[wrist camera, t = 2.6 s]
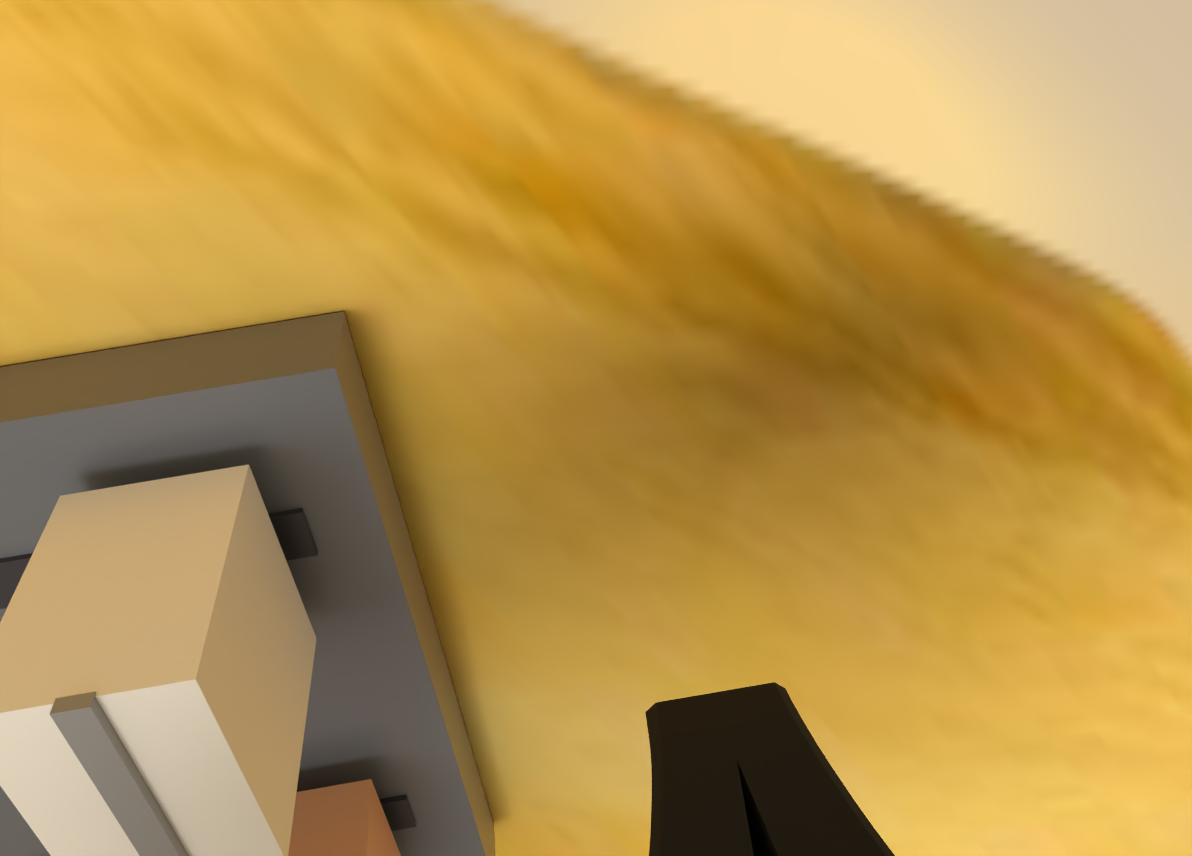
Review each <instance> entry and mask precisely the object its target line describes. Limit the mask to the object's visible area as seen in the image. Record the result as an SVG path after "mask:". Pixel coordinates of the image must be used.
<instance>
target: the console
mask: <svg viewBox="0 0 1192 856" xmlns="http://www.w3.org/2000/svg"><path fill="white" fill-rule="evenodd" d="M248 464H249V466H250V469H251V471H252V474H253V476H254V479H255V481H256V484H257V487H258V489H259V492H260V494H261V497H262V499H263V502H264V505H265V507H266V510H267V512H268V515H269V517H270V520H271V523H272V525H273V528H274V530H275V533H276V535H277V538H278V541H279V543H280V546H281V548H282V551H283V553H284V556H285V559H286V561H287V564H288V566H289V569H290V571H291V574H292V577H293V579H294V582H295V584H296V587H297V589H298V592H299V595H300V597H301V600H302V602H303V605H304V607H305V610H306V613H307V615H308V618H309V620H310V623H311V625H312V628H313V631H314V633H315V636H316V638H317V639H316V647H315V654H314V662H313V670H312V677H311V685H310V693H309V700H308V708H307V716H306V723H305V731H304V738H303V746H302V754H301V761H300V769H299V777H298V784H297V792H300V791H306V790H311V789H317V788H323V787H328V786H334V785H340V784H345V783H351V782H357V781H363V780H368V779H371V780H372V782H373V785H374V788H375V790H376V793H377V795H378V798H379V800H380V803H381V806H382V808H383V811H384V813H385V816H386V818H387V821H388V824H389V826H390V829H391V831H392V834H393V836H394V839H395V842H396V844H397V847H398V849H399V852H400V854H401V856H495V837H494V823H493V820H492V817H491V813H490V810H489V806H488V803H487V799H486V796H485V793H484V789H483V786H482V782H481V779H480V776H479V772H478V769H477V765H476V762H475V758H474V755H473V752H472V748H471V745H470V741H469V738H468V734H467V731H466V728H465V724H464V721H463V717H462V714H461V710H460V707H459V704H458V700H457V697H456V693H455V690H454V686H453V683H452V680H451V676H450V673H449V669H448V666H447V662H446V659H445V656H444V652H443V649H442V645H441V642H440V638H439V635H438V632H437V628H436V625H435V621H434V618H433V615H432V611H431V608H430V604H429V601H428V597H427V594H426V591H425V587H424V584H423V580H422V577H421V573H420V570H419V567H418V563H417V560H416V556H415V553H414V549H413V546H412V543H411V539H410V536H409V532H408V529H407V525H406V522H405V519H404V515H403V512H402V508H401V505H400V501H399V498H398V495H397V491H396V488H395V484H394V481H393V477H392V474H391V471H390V467H389V464H388V460H387V457H386V454H385V450H384V447H383V443H382V440H381V436H380V433H379V430H378V426H377V423H376V419H375V416H374V412H373V409H372V406H371V402H370V399H369V395H368V392H367V388H366V385H365V382H364V378H363V375H362V371H361V368H360V364H359V361H358V358H357V354H356V351H355V347H354V344H353V340H352V337H351V334H350V330H349V327H348V323H347V320H346V317H345V313H344V311H343V312H337V313H331V314H325V315H318V316H312V317H306V318H300V319H294V320H288V321H281V322H275V323H269V324H263V325H257V326H251V327H244V328H238V329H232V330H226V331H220V332H214V333H207V334H201V335H195V336H189V337H183V338H177V339H170V340H164V341H158V342H152V343H146V344H140V345H133V346H127V347H121V348H115V349H109V350H103V351H96V352H90V353H84V354H78V355H72V356H66V357H59V358H53V359H47V360H41V361H35V362H29V363H22V364H16V365H10V366H4V367H0V622H1V620H2V617H3V615H4V613H5V611H6V609H7V607H8V605H9V603H10V601H11V598H12V596H13V594H14V592H15V590H16V588H17V586H18V584H19V582H20V579H21V577H22V575H23V573H24V571H25V569H26V567H27V565H28V562H29V560H30V558H31V556H32V554H33V552H34V550H35V548H36V546H37V543H38V541H39V539H40V537H41V535H42V533H43V531H44V529H45V527H46V524H47V522H48V520H49V518H50V516H51V514H52V512H53V510H54V507H55V505H56V503H57V501H58V499H59V497H60V496H62V495H68V494H74V493H80V492H86V491H92V490H98V489H104V488H110V487H116V486H122V485H128V484H134V483H140V482H146V481H152V480H158V479H164V478H170V477H176V476H182V475H188V474H194V473H200V472H206V471H212V470H218V469H224V468H230V467H236V466H242V465H248ZM0 856H51V855H50V854H49V853H48V851H47V850H46V848H45V847H44V846H43V844H42V843H41V841H40V840H39V839H38V837H37V836H36V835H35V833H34V832H33V830H32V829H31V828H30V826H29V825H28V823H27V822H26V821H25V819H24V818H23V817H22V815H21V814H20V812H19V811H18V810H17V808H16V807H15V805H14V804H13V803H12V801H11V800H10V798H9V797H8V796H7V794H6V793H5V792H4V790H3V789H2V787H1V786H0Z"/></svg>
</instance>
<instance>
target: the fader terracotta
mask: <svg viewBox="0 0 1192 856" xmlns="http://www.w3.org/2000/svg"><path fill="white" fill-rule="evenodd" d="M288 856H401V854H400V852H399V849H398V847H397V844H396V842H395V839H394V836H393V834H392V831H391V829H390V826H389V824H388V821H387V818H386V816H385V813H384V811H383V808H382V806H381V803H380V800H379V798H378V795H377V793H376V790H375V788H374V785H373V782H372V780H371V779H368V780H363V781H357V782H351V783H345V784H340V785H334V786H328V787H323V788H317V789H311V790H306V791H300V792H296V800H295V807H294V815H293V823H292V830H291V838H290V846H289V853H288Z"/></svg>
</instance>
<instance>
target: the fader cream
mask: <svg viewBox="0 0 1192 856" xmlns="http://www.w3.org/2000/svg"><path fill="white" fill-rule="evenodd" d="M316 639H317V638H316V636H315V633H314V631H313V628H312V625H311V623H310V620H309V618H308V615H307V613H306V610H305V607H304V605H303V602H302V600H301V597H300V595H299V592H298V589H297V587H296V584H295V582H294V579H293V577H292V574H291V571H290V569H289V566H288V564H287V561H286V559H285V556H284V553H283V551H282V548H281V546H280V543H279V541H278V538H277V535H276V533H275V530H274V528H273V525H272V523H271V520H270V517H269V515H268V512H267V510H266V507H265V505H264V502H263V499H262V497H261V494H260V492H259V489H258V487H257V484H256V481H255V479H254V476H253V474H252V471H251V469H250V466H249V464H248V465H242V466H236V467H230V468H224V469H218V470H212V471H206V472H200V473H194V474H188V475H182V476H176V477H170V478H164V479H158V480H152V481H146V482H140V483H134V484H128V485H122V486H116V487H110V488H104V489H98V490H92V491H86V492H80V493H74V494H68V495H62V496H60V497H59V499H58V501H57V503H56V505H55V507H54V510H53V512H52V514H51V516H50V518H49V520H48V522H47V524H46V527H45V529H44V531H43V533H42V535H41V537H40V539H39V541H38V543H37V546H36V548H35V550H34V552H33V554H32V556H31V558H30V560H29V562H28V565H27V567H26V569H25V571H24V573H23V575H22V577H21V579H20V582H19V584H18V586H17V588H16V590H15V592H14V594H13V596H12V598H11V601H10V603H9V605H8V607H7V609H6V611H5V613H4V615H3V617H2V620H1V622H0V786H1V787H2V789H3V790H4V792H5V793H6V794H7V796H8V797H9V798H10V800H11V801H12V803H13V804H14V805H15V807H16V808H17V810H18V811H19V812H20V814H21V815H22V817H23V818H24V819H25V821H26V822H27V823H28V825H29V826H30V828H31V829H32V830H33V832H34V833H35V835H36V836H37V837H38V839H39V840H40V841H41V843H42V844H43V846H44V847H45V848H46V850H47V851H48V853H49V854H50V855H51V856H288V853H289V846H290V838H291V830H292V823H293V815H294V807H295V800H296V792H297V784H298V777H299V769H300V761H301V754H302V746H303V738H304V731H305V723H306V716H307V708H308V700H309V693H310V685H311V677H312V670H313V662H314V654H315V647H316Z"/></svg>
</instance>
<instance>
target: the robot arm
mask: <svg viewBox="0 0 1192 856" xmlns="http://www.w3.org/2000/svg"><path fill="white" fill-rule="evenodd" d="M646 718H647V726H648V733H649V740H650V748H651V763H652V811H651V838H650V850H649V856H895V855H894V854H893V853H892V851H891V850H890V849H889V847H888V846H887V845H886V843H885V842H884V841H883V839H882V838H881V837H880V835H879V834H878V833H877V832H876V830H875V829H874V828H873V826H872V825H871V823H870V822H869V821H868V819H867V818H866V816H865V815H864V814H863V812H862V811H861V809H860V808H859V807H858V805H857V804H856V802H855V801H854V799H853V798H852V796H851V795H850V794H849V792H848V791H847V789H846V788H845V786H844V785H843V783H842V782H841V780H840V779H839V777H838V776H837V774H836V773H835V771H834V770H833V768H832V767H831V765H830V764H829V762H828V761H827V759H826V758H825V756H824V754H823V753H822V751H821V750H820V748H819V747H818V745H817V743H816V742H815V740H814V739H813V737H812V735H811V734H810V732H809V730H808V729H807V727H806V725H805V724H804V722H803V720H802V718H801V717H800V715H799V713H798V711H797V710H796V708H795V706H794V704H793V702H792V701H791V699H790V697H789V695H788V693H787V691H786V689H785V688H783V687H782V686H780V685H778V684H776V683H775V682H774V683H768V684H762V685H757V686H751V687H745V688H739V689H733V690H727V691H722V692H716V693H710V694H704V695H698V696H692V697H687V698H681V699H675V700H669V701H663V702H658V703H655V704H654V705H653V706H652V707H651V708H650V709H649V710H648V711H646Z"/></svg>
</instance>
